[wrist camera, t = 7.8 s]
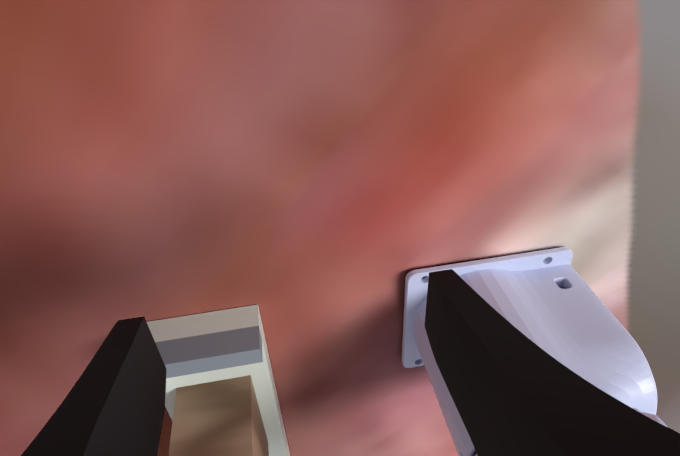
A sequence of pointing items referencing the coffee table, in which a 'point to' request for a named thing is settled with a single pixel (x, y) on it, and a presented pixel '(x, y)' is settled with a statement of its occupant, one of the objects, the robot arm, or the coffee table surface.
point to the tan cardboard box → (218, 420)
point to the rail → (221, 360)
